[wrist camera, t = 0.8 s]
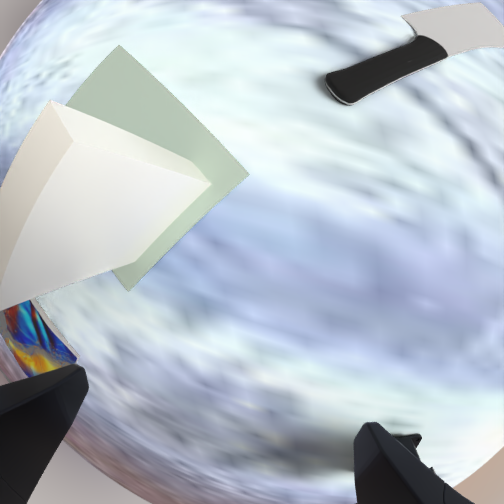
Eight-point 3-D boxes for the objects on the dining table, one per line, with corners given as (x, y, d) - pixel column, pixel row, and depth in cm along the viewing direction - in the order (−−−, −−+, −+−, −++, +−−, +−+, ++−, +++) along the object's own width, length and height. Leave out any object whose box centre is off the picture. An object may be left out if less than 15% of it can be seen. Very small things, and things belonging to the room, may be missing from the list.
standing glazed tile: (211, 184, 20) (73, 141, 6) (135, 261, 21) (-8, 314, 8) (190, 159, 19) (48, 96, 6) (117, 238, 21) (-27, 268, 7)
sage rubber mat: (249, 174, 19) (249, 173, 19) (129, 290, 22) (127, 291, 22) (120, 45, 19) (119, 44, 19) (39, 146, 22) (38, 145, 21)
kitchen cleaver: (472, -10, 11) (526, 46, 10) (469, -3, 13) (520, 52, 12) (279, 32, 17) (357, 116, 16) (281, 44, 19) (353, 125, 18)
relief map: (-22, 283, 28) (-30, 285, 26) (-8, 213, 25) (-18, 214, 23) (57, 402, 28) (49, 409, 26) (83, 353, 25) (73, 360, 23)
